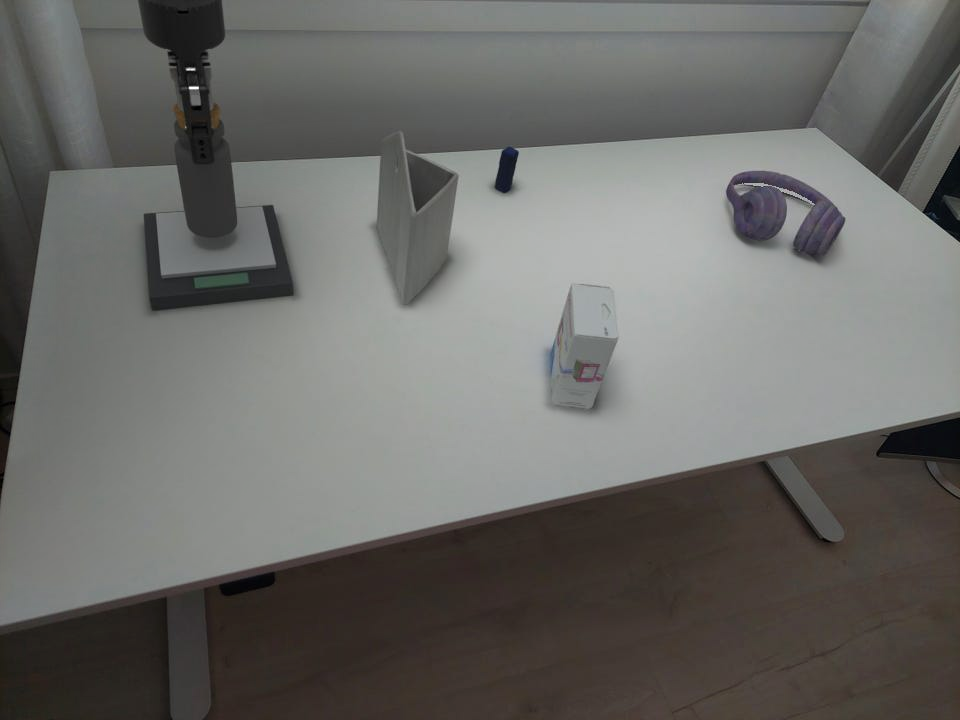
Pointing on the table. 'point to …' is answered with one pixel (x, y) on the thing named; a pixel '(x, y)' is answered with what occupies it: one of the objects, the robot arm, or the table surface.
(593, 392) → the ink box
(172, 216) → the scale
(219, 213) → the bottle
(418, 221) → the planter
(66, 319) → the table surface
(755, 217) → the headphones
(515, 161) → the eraser
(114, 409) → the table surface
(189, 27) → the robot arm
